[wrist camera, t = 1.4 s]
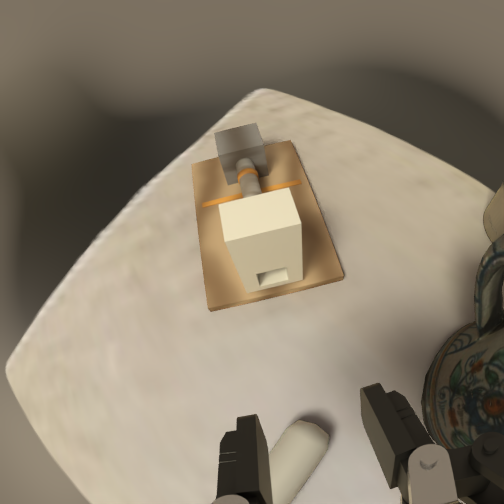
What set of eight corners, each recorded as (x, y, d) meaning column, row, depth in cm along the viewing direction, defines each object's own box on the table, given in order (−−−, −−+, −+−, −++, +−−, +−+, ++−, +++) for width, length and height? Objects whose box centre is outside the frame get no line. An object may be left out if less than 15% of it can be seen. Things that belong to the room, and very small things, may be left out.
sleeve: (293, 249, 37) (288, 187, 28) (302, 279, 35) (301, 223, 26) (241, 262, 38) (218, 204, 28) (247, 293, 36) (224, 241, 26)
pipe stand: (291, 145, 49) (287, 110, 42) (342, 279, 36) (350, 249, 30) (193, 169, 49) (179, 136, 43) (210, 311, 37) (191, 288, 31)
